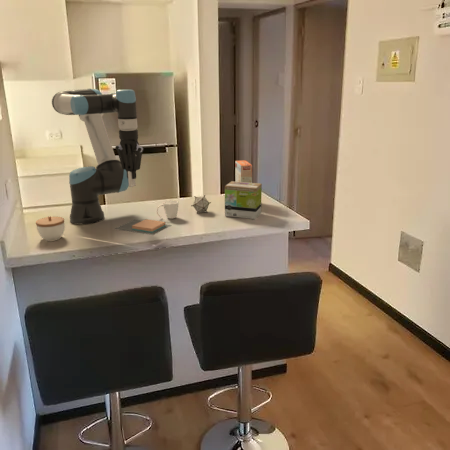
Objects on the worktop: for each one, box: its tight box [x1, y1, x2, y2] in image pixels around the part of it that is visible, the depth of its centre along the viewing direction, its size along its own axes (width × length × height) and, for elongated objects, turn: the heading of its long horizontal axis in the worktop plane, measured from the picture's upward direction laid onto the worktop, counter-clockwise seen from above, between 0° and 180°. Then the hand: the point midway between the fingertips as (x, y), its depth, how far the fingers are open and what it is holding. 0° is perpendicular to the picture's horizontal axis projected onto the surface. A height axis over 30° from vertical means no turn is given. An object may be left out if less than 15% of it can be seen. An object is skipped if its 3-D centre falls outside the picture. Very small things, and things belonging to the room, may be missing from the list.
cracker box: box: [234, 159, 253, 183], centre depth 234 cm, size 14×6×21 cm, turn 10°
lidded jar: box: [35, 215, 66, 242], centre depth 190 cm, size 11×11×9 cm
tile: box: [132, 218, 166, 233], centre depth 201 cm, size 2×10×10 cm
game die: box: [190, 194, 212, 214], centre depth 223 cm, size 9×8×10 cm
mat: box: [114, 219, 172, 236], centre depth 202 cm, size 20×14×1 cm
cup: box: [156, 199, 180, 220], centre depth 213 cm, size 7×10×8 cm
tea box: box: [224, 180, 263, 220], centre depth 217 cm, size 15×10×15 cm, turn 71°
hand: (132, 186), depth 199 cm, fingers closed
